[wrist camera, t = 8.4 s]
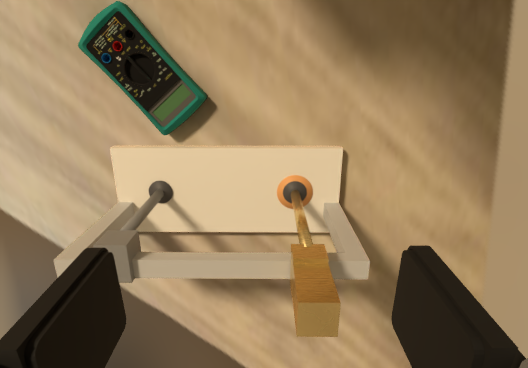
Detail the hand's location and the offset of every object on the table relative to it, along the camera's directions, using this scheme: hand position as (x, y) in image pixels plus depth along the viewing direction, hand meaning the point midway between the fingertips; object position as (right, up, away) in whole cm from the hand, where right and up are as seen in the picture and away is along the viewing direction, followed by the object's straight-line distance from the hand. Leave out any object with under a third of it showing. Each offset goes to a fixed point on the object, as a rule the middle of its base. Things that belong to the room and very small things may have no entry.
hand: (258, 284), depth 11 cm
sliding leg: (+4, +1, +34) cm, 34 cm away
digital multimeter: (-14, +17, +31) cm, 38 cm away
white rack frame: (-5, +3, +35) cm, 36 cm away
